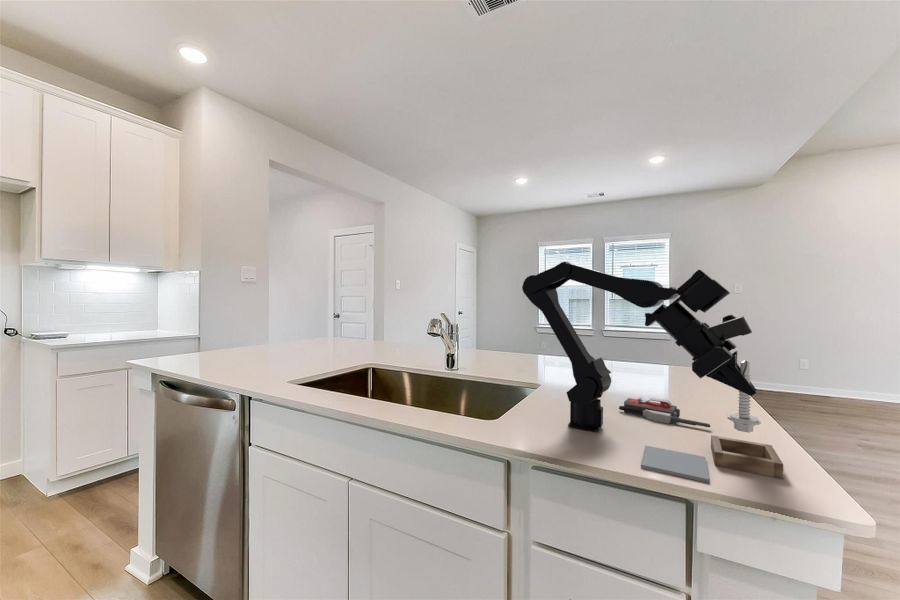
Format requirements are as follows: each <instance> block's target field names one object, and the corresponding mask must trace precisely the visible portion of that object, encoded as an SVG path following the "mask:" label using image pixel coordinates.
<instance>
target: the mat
mask: <svg viewBox="0 0 900 600" xmlns="http://www.w3.org/2000/svg"><path fill="white" fill-rule="evenodd" d="M640 469H645V470H648V471H654V472H657V473H658V472H659V473H662V474H667V475H671V476H676V477H681V478H685V479H690V480H695V481H699V482H703V483H708V484H709V483H710V476H709V470H708V464H707V459H706V456H703V455H696V454H692V453H687V452H682V451H677V450H671V449H666V448H662V447H657V446H650V445H646V444H645V445H644V450H643V453H642V458H641V463H640Z"/></svg>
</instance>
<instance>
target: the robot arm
mask: <svg viewBox="0 0 900 600" xmlns="http://www.w3.org/2000/svg"><path fill="white" fill-rule="evenodd" d="M568 281H573V282H577V283H580V284H583V285H587V286H590V287H594V288H596V289H599V290H603V291H606V292H610V293H612V294H614V295H617V296H618V297H620V298H621V299H623V300H625V301H627V302H629V303H631V304H633V305H635V306H637V307H639V308H644V309H645V308H646V309H647V308H655V307H657V306H659V305H660V306H659V307H657V308H656V309H655V310H654V311H653V312H651V313H650V312H645V313H644V317H645V321H644V326H646V327H649V326H652V325H654V323H657V325H659V326H660V327H661V329H663V330H664V331H665V332H666V333H667V335H669V336H670V337H671V338H672V339H673V340H674V341H675V342H674V343H675V344H676V345H677V346H678V347H682V348H683V349H684V350H685V351H686V352H687V353H688V354H689V355H690V356H691V357H692V358H691V360H692V361H693V362H691V371H692V372H693V373H694V374H695V375H696V376H697V377H698V378H699V379H702V378H703V377H707V378H710V379H712V380H715V381H717V382H720V383H722V384H724V385H725V386H728V387H731V388H733V389H735V390H737V391H741V392H743V393H745V394H748V395H750V397H753V396H754V395H756V394H757V387H755V386H754V384H753V383H752V381H751V382H750V383H749V382H748V381H747V379H746V378H745V377H744V376H743V374H742V373H741V372H740V369H741V365H739V363H738V350H736V351H733V352H732V353H731V352H730V351H732V350H735V349H736V348H737V345H736V344H735V343H734V342H732V341H731V340H730V339H732V338H736V337H740V336H747V335H750V334H752V332H753V331H752V329H751V327H750V325H749V324H748V322H747V320H746V318H745V316H739V317H736V316H735V315H733V314H728V315H725V316H722V322H720V323H717V324H714V325H711V326H710V325H709V324H708V323H707V322H703V321H702V322H701V321H700V320H699V319H698V318H696V317H695V315H693V314H692V313H691V312H690V311H692V312H693V313H695V314H696V313H697V312H698V311H701V312H703V313H707V312H708V311H709V310H710V309H712V308H713V307H714V306H716V305H717V304H718V303H720V302H721V301H722V300H724V298H725V297H727V296H729V295H730V294H731V292H730V291H729V290H728V289H727V288H726V287H724V286H723V285H722V284H721V283H720V282H718V280H716V279H713V278H712V277H710V276H709V275H708V274H707V273H705V272H704V271H703V270H701V269H698V270H696V271H695V272H694V273H693V274H692V275H691V276H690V278H688V279H687V280H686V281H685V282H683V284H681V285H679V287H678V288H676V287H673V286H670V287H664V286H663V285H662V284H661V283H660V282H657V281H655V280H648V279H647V280H646V279H639V278H631V277H630V278H629V277H621V276H616V275H612V274H609V273H606V272H602V271H598V270H596V269H592V268H588V267H586V266H585V267H584V266H581V265H579V264H575V263H574V262H569V261H562V262H560V263H558V264H557V265H555V266H554V267H550V268H549V269H546V270H543V271H541V272H539V273H537V274H535V275H534V274H532V275H528V276H527V277H526V278H525V279H524V280H523V283H522V287H521V288H522V293H524V294H523V295H525V296H526V297H527V299H528V300H529V301H530V302H531V304H533V306H535V308H537V309H539V310H540V311H541V313H542V314H543V316H544V317H545V319H546V322H547V323H548V325H549V327H550V328H551V331H553V333H554V335H555V337H556V338H557V341H558V342H559V343H560V345H561V347H562V350H564V352H565V354H566V356H567V358H568V359H569V361H570V363H571V370H572V375H573V379H574V380H575V381H574V382H575V385H574V386H573V387H571V388H570V389H569V390H568V391H567V392H566V395H567V400H568V402H570V405H569V406H570V407H569V408H570V409H569V410H570V411H569V416H570V417H569V421H568V422H569V423H568V424H567V426H568V427H569V428H575V429H579V430H585V431H591V432H596V433H597V432H599V429H600V428H602V427H603V425H604V407H603V406H601V401H602V400H601V399H600V398H601V397H602V396H603V394H604V393H605V392H606V391H608V390H609V389H610V388H611V385H612V384H611V383H612V378H611V375H610V374H612V371H610V370H609V369H608V367H607V366H606V363H605V361H604V360H603V358H602V357H598V358H596V359H595V358H594V357H593V356H592V355H591V354H590V353H589V352H588V350H587V348H586V346H585V345H584V344H583V343H584V342H583V341H582V340H581V338H580V336H579V335H578V334H577V332H576V330H575V328H574V326H573V325H572V323H571V321H570V320H569V318H568V317H567V314H566V313H565V311H564V310H563V308H562V307H561V305H560V302H559V294H558V290H557V289H558V288H560V287H561V286H564V285H565V284H566V283H567V282H568ZM669 300H673V302H671V303H669V305H666V304H662V303H663V301H669ZM681 302H682V303H683V304H684V305H685V306H683V305H682V304H681ZM686 307H687V308H688V309H690V311H689V310H688V309H686Z"/></svg>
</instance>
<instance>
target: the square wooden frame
mask: <svg viewBox="0 0 900 600" xmlns="http://www.w3.org/2000/svg"><path fill="white" fill-rule="evenodd" d="M710 449H711V454H712V455H711V456H712V458H713V459H712V460H713V463H714V466H717V467H722V468H726V469H730V470H731V469H732V470H736V471H739V472H740V471H741V472H746V473H751V474H757V475H761V476H767V477H772V478H777V479H782V480H783V479H784V463H783V461H782V460H781V458H780V457H779V455H778V453H777V451H776V450H775V449H774V447H773V445H772V444H768V443H760V442H754V441H750V440H749V441H748V440H742V439H736V438H730V437H725V436H718V435H713V434H712V435H710Z"/></svg>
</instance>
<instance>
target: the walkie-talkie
mask: <svg viewBox="0 0 900 600" xmlns="http://www.w3.org/2000/svg"><path fill="white" fill-rule="evenodd" d="M618 409H619V410H620V411H623V412H624V413H625V414H630V415H635V416H639V417H640V416H641V417H644V418H646V419H648V420H650V421H654V422H658V423H665V424H669V425H670V423H678V424H679V423H680V424H684V425H689V426H695V427H696V426H699V427H705V428H711V424H710V423H706V422H701V421H696V420H691V419H685V418H680V413H681V410H680V408H678V407H677V406H676V405H673V404H672V403H671V401H670V400H667V399H661V398H657V397H651V398H649V399H646V400H645V399H643V397H642V396H641V397H640V396H639V397H638V399H637V398H632V397H631V398H630V397H628V398H626V399H625V400H624V402H623V405H620V406H618Z"/></svg>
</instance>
